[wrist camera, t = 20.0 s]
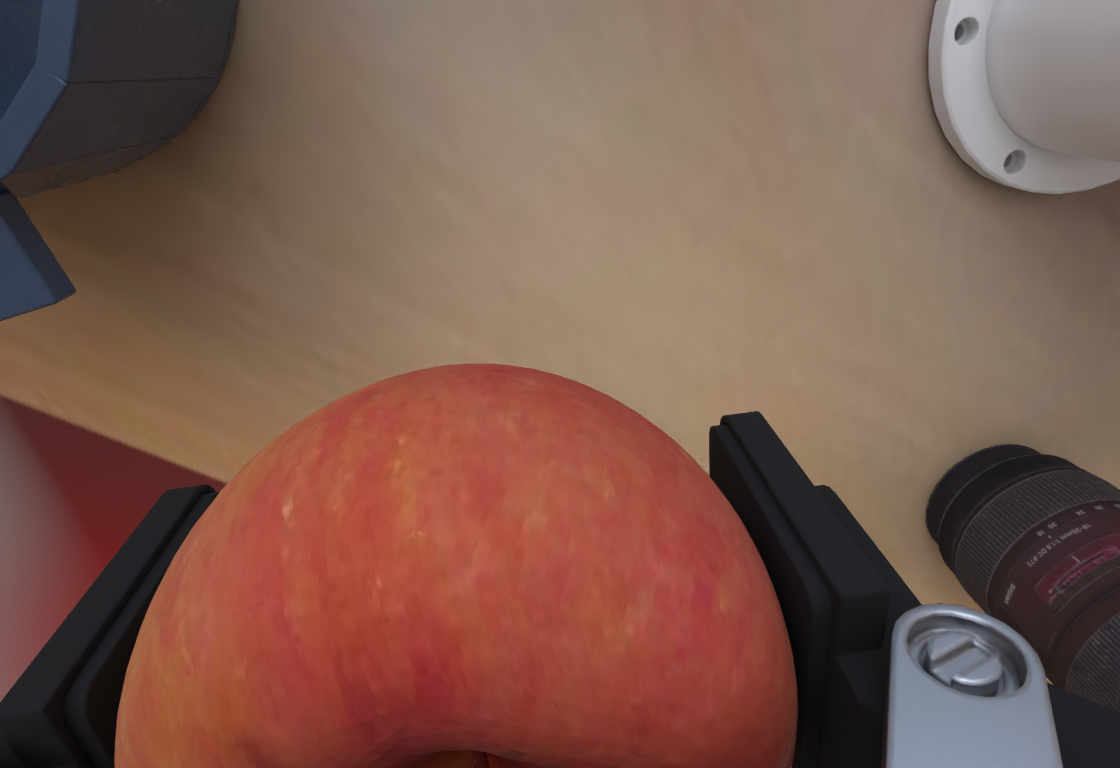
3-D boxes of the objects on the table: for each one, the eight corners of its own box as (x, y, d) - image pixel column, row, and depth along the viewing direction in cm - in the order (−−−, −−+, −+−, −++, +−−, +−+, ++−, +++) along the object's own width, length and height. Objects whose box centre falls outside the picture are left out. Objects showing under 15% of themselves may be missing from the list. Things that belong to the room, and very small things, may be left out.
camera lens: (940, 426, 32) (1267, 685, 19) (1087, 433, 33) (1498, 682, 20) (888, 559, 36) (1134, 858, 22) (1024, 561, 37) (1337, 848, 23)
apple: (285, 622, 13) (22, 1310, 6) (254, 257, 10) (-394, 775, 3) (649, 631, 14) (807, 1236, 7) (727, 298, 11) (1174, 770, 4)
